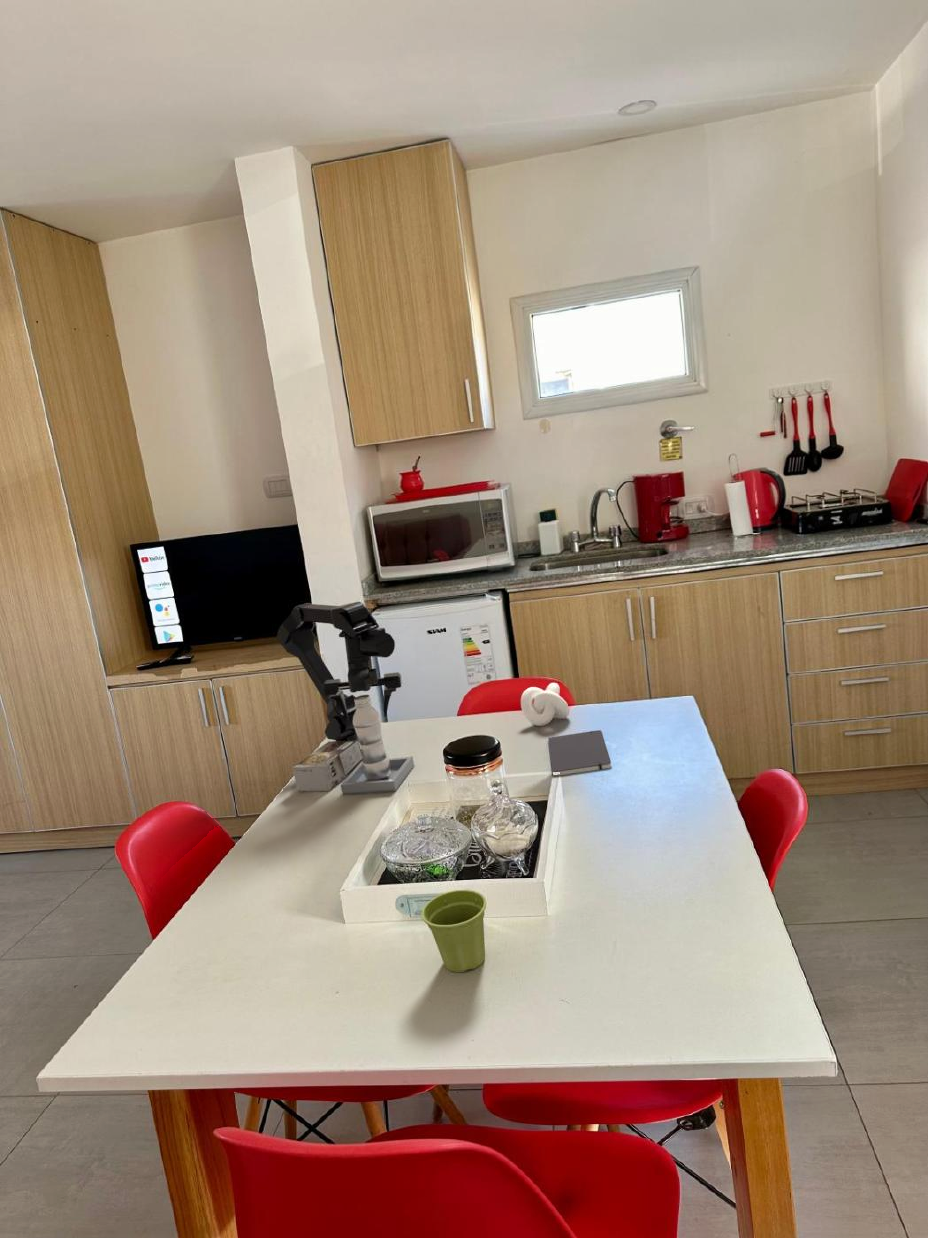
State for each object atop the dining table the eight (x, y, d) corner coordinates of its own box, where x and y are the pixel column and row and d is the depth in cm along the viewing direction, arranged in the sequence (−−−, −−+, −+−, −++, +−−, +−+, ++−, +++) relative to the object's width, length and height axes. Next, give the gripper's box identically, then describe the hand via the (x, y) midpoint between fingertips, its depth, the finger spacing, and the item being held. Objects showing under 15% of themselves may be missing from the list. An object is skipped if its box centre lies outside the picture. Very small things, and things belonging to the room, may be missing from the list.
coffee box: (329, 792, 199) (364, 763, 213) (323, 766, 197) (359, 739, 211) (297, 792, 203) (334, 764, 217) (291, 767, 201) (328, 740, 215)
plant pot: (475, 986, 118) (464, 930, 117) (420, 974, 124) (408, 920, 122) (508, 947, 126) (497, 894, 124) (454, 937, 131) (444, 886, 129)
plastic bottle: (397, 772, 202) (380, 691, 198) (385, 784, 196) (368, 701, 192) (372, 772, 204) (356, 693, 200) (360, 784, 198) (342, 703, 194)
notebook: (549, 743, 205) (553, 778, 185) (548, 737, 205) (552, 772, 184) (602, 735, 204) (612, 770, 183) (601, 729, 204) (611, 763, 183)
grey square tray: (364, 770, 208) (362, 760, 208) (414, 766, 205) (412, 756, 204) (342, 795, 195) (340, 785, 195) (396, 791, 192) (393, 781, 191)
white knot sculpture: (582, 714, 220) (577, 681, 218) (554, 731, 211) (548, 697, 210) (547, 710, 228) (542, 678, 226) (519, 726, 219) (513, 693, 218)
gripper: (315, 665, 198) (324, 731, 200) (396, 657, 198) (404, 722, 200) (321, 657, 209) (329, 720, 211) (398, 649, 209) (405, 711, 211)
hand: (366, 718), depth 208 cm, fingers open, 9 cm apart
